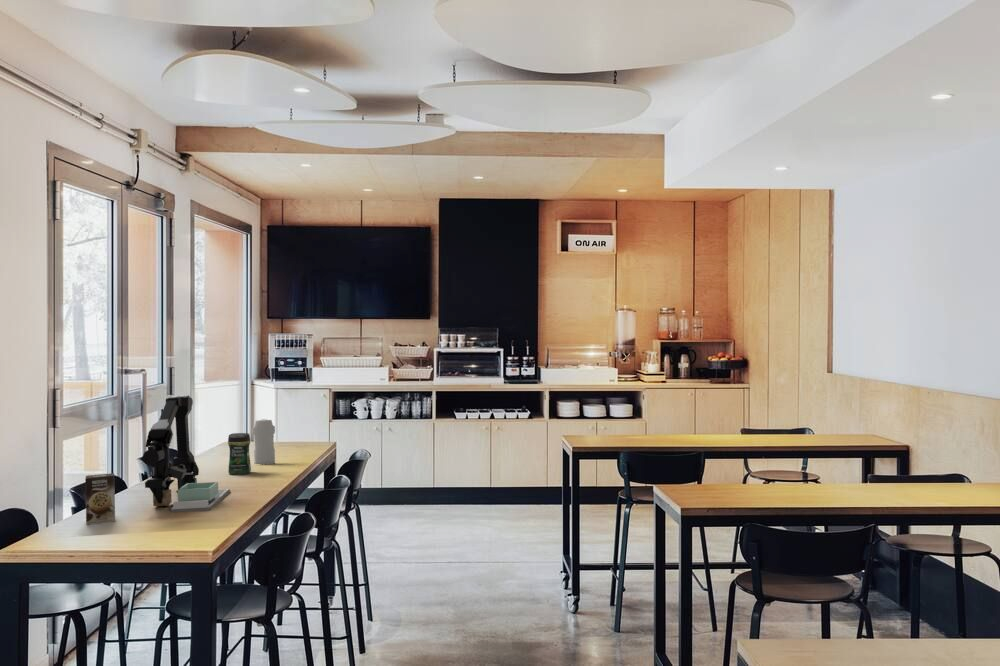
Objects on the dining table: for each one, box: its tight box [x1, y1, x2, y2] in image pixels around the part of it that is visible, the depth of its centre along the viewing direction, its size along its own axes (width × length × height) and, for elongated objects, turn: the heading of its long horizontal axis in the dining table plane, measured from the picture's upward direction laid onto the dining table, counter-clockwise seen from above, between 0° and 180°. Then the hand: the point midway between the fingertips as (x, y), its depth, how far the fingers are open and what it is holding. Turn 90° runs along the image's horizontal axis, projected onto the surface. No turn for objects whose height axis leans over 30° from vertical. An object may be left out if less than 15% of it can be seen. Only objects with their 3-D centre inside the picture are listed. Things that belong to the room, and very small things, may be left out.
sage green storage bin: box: [177, 481, 219, 503], centre depth 285 cm, size 12×12×6 cm
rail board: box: [170, 487, 231, 513], centre depth 289 cm, size 14×30×3 cm, turn 7°
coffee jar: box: [227, 432, 252, 475], centre depth 344 cm, size 10×8×19 cm
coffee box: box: [84, 472, 116, 525], centre depth 263 cm, size 9×6×16 cm
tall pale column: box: [252, 418, 276, 465], centre depth 366 cm, size 11×4×22 cm, turn 96°
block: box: [152, 488, 172, 507], centre depth 283 cm, size 5×5×5 cm
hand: (162, 501), depth 283 cm, fingers closed on block, 5 cm apart
